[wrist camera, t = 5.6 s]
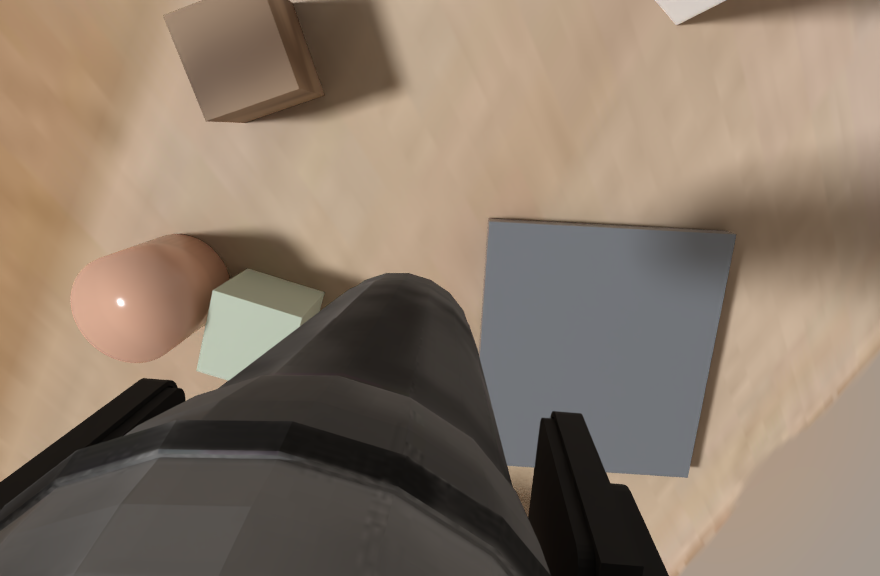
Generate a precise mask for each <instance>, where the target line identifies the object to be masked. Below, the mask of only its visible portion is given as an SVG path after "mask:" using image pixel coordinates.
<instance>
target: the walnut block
mask: <svg viewBox="0 0 880 576" xmlns="http://www.w3.org/2000/svg"><path fill="white" fill-rule="evenodd" d="M163 17H164V20H165V22H166V24H167V27H168V29H169V32H170V34H171V37H172V39H173V42H174V44H175V47H176V49H177V51H178V54H179V56H180V59H181V61H182V64H183V66H184V69H185V71H186V74H187V76H188V78H189V81H190V83H191V86H192V88H193V91H194V93H195V96H196V98H197V101H198V103H199V105H200V108H201V110H202V113H203V115H204V118H205V120H206V121H212V122H237V123H246V122H249V121H252V120H255V119H258V118H260V117H263V116H266V115H269V114H272V113H275V112H278V111H281V110H284V109H287V108H289V107H292V106H295V105H298V104H301V103H304V102H307V101H310V100H313V99H316V98H318V97H321V96H324V92H323V89H322V87H321V84H320V81H319V78H318V75H317V72H316V69H315V66H314V64H313V61H312V58H311V55H310V52H309V49H308V46H307V43H306V41H305V38H304V35H303V32H302V29H301V26H300V23H299V20H298V18H297V15H296V12H295V9H294V6H293V3H292V2H290V1H289V0H202V1H199V2H197V3H194V4H191V5H189V6H186V7H183V8H181V9H178V10H176V11H173V12H170V13H168V14H165V15H163Z"/></svg>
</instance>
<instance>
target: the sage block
mask: <svg viewBox="0 0 880 576" xmlns="http://www.w3.org/2000/svg"><path fill="white" fill-rule="evenodd" d="M324 293H325V292H322V291H319V290H316V289H313V288H309V287H306V286H303V285H300V284H297V283H293V282H290V281H287V280H284V279H281V278H277V277H274V276H271V275H268V274H265V273H261V272H258V271H255V270H252V269H249V268H248V269H246V270H245V271H243V272H241V273H240V274H238V275H236V276H235V277H233V278H232V279H230V280H228V281H227V282H225V283H223V284H222V285H220V286H219V287H217V288H215V289H214V290H213V291H212V296H211V301H210V306H209V311H208V316H207V321H206V326H205V331H204V336H203V341H202V346H201V351H200V356H199V361H198V366H197V371H199V372H202V373H205V374H208V375H212V376H215V377H218V378H222V379H225V380H228V381H229V380H230V379H231V378H233V377H234V376H235V375H237V374H238V373H239V372H241V371H242V370H243V369H245V368H246V367H247V366H248V365H250V364H251V363H252V362H254V361H255V360H256V359H258V358H259V357H260V356H262V355H263V354H264V353H266V352H267V351H268V350H270V349H271V348H272V347H273V346H275V345H276V344H277V343H279V342H280V341H281V340H283V339H284V338H285V337H287V336H288V335H289V334H291V333H292V332H293V331H295V330H296V329H297V328H298V327H300V326H301V325H302V324H304V323H305V322H306V321H308V320H309V319H310V318H312V317H313V316H314V315H316V314H317V313H318V312H320V308H321V305H322V301H323V297H324Z"/></svg>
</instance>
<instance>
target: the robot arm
mask: <svg viewBox="0 0 880 576" xmlns="http://www.w3.org/2000/svg"><path fill="white" fill-rule="evenodd" d="M183 402H185V393H184V391H183V390H182V389H181V388H177V385H176V383H175V382H174V381H172V380H159V379H146V378H143V379H141V380H139V381H138V382H136V383H135V384H134V385H132V386H131V387H129V388H128V389H127V390H125V391H124V392H123V393H121V394H120V395H119V396H117V397H116V398H115V399H113V400H112V401H110V402H109V403H108V404H106V405H105V406H104V407H102V408H101V409H100V410H98V411H97V412H95V413H94V414H93V415H91V416H90V417H89V418H87V419H86V420H85V421H83V422H82V423H80V424H79V425H78V426H76V427H75V428H74V429H72V430H71V431H70V432H68V433H67V434H65V435H64V436H63V437H61V438H60V439H59V440H57V441H56V442H55V443H53V444H52V445H50V446H49V447H48V448H46V449H45V450H44V451H42V452H41V453H40V454H38V455H37V456H35V457H34V458H33V459H31V460H30V461H29V462H27V463H26V464H25V465H23V466H22V467H21V468H19V469H18V470H16V471H15V472H14V473H12V474H11V475H10V476H8V477H7V478H6V479H4V480H3V481H1V482H0V511H1V510H2V508H3V507H4V506H5V505H6V504H8V503H9V502H10V501H11V500H13V499H14V498H15V497H17V496H18V495H19V494H21V493H22V492H23V491H24V490H26V489H27V488H28V487H30V486H31V485H32V484H34V483H35V482H36V481H37V480H39V479H40V478H41V477H43V476H44V475H45V474H47V473H48V472H49V471H50V470H52V469H53V468H54V467H56V466H57V465H58V464H60V463H61V462H62V461H63V460H65V459H66V458H67V457H69V456H70V455H71V454H73V453H74V452H75V451H76V450H79V449H83V448H86V447H89V446H93V445H96V444H99V443H102V442H106V441H109V440H112V439H116V438H119V437H122V436H124V435H126V434H127V433H128V432H130V431H131V430H132V429H134V428H135V427H136V426H138V425H140V424H142V423H144V422H146V421H147V420H149V419H151V418H153V417H155V416H157V415H159V414H161V413H163V412H165V411H167V410H169V409H171V408H173V407H175V406H177V405H179V404H181V403H183ZM528 519H529V521H530V524H531V526H532V528H533V530H534V533H535V535H536V537H537V539H538V542H539V544H540V546H541V549H542V552H543V555H544V557H545V560H546V563H547V566H548V569H549V572H550V575H551V576H669V575H668V573H667V571H666V568H665V566H664V564H663V562H662V560H661V557H660V555H659V553H658V551H657V549H656V546H655V544H654V542H653V540H652V538H651V535H650V533H649V531H648V529H647V527H646V524H645V522H644V520H643V518H642V516H641V513H640V511H639V509H638V507H637V505H636V502H635V500H634V498H633V496H632V494H631V491H630V490H629V488H628V487H627V486H626V485H623V484H612V483H610V481H609V479H608V476H607V474H606V472H605V469H604V467H603V464H602V462H601V459H600V457H599V454H598V452H597V449H596V447H595V445H594V442H593V440H592V437H591V435H590V432H589V430H588V427H587V425H586V422H585V420H584V417H583V415H582V414H581V413H570V412H558V411H553V412H552V413H551V417H550V418H541V421H540V427H539V435H538V443H537V451H536V460H535V468H534V476H533V484H532V492H531V500H530V508H529V516H528Z"/></svg>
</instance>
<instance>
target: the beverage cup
mask: <svg viewBox="0 0 880 576" xmlns="http://www.w3.org/2000/svg"><path fill="white" fill-rule="evenodd" d="M0 576H551V575H550V572H549V569H548V566H547V563H546V560H545V557H544V555H543V552H542V549H541V546H540V544H539V542H538V539H537V537H536V535H535V533H534V530H533V528H532V526H531V524H530V521H529V519H528V517H527V515H526V513H525V510H524V508H523V506H522V504H521V501H520V499H519V497H518V495H517V492H516V491H515V490H514V489H513V487H512V483H511V479H510V475H509V471H508V467H507V463H506V459H505V455H504V451H503V447H502V444H501V440H500V436H499V432H498V428H497V424H496V420H495V416H494V412H493V408H492V404H491V400H490V396H489V393H488V389H487V385H486V381H485V377H484V373H483V369H482V365H481V361H480V357H479V353H478V349H477V346H476V344H475V341H474V338H473V335H472V332H471V329H470V326H469V324H468V322H467V320H466V317H465V314H464V311H463V310H462V308H461V307H460V306H459V304H458V303H457V302H456V300H455V299H454V298H453V297H452V295H451V294H450V293H449V292H448V291H446V290H445V289H443V288H442V287H440V286H439V285H437V284H436V283H434V282H433V281H432V280H429V279H426V278H423V277H419V276H416V275H413V274H410V273H385V274H382V275H379V276H376V277H373V278H370V279H367V280H364V281H363V282H362V283H360V284H359V285H358V286H356V287H353V288H350V289H349V290H347V291H346V292H345V293H343V294H342V295H341V296H339V297H338V298H337V299H335V300H334V301H333V302H331V303H330V304H329V305H327V306H326V307H325V308H323V309H322V310H321V311H320V312H318V313H317V314H316V315H314V316H313V317H312V318H310V319H309V320H308V321H306V322H305V323H304V324H302V325H301V326H300V327H298V328H297V329H296V330H295V331H293V332H292V333H291V334H289V335H288V336H287V337H285V338H284V339H283V340H281V341H280V342H279V343H277V344H276V345H275V346H273V347H272V348H271V349H270V350H268V351H267V352H266V353H264V354H263V355H262V356H260V357H259V358H258V359H256V360H255V361H254V362H252V363H251V364H250V365H248V366H247V367H246V368H245V369H243V370H242V371H241V372H239V373H238V374H237V375H235V376H234V377H233V378H231V379H230V380H229V381H227V382H226V383H225V384H223V385H222V386H221V387H220V388H218V389H216V390H213V391H210V392H207V393H203V394H200V395H197V396H194V397H193V398H191V399H189V400H187V401H185V402H183V403H181V404H179V405H177V406H175V407H173V408H171V409H169V410H167V411H165V412H163V413H161V414H159V415H157V416H155V417H153V418H151V419H149V420H147V421H146V422H144V423H142V424H140V425H138V426H136V427H135V428H134V429H132V430H131V431H130V432H128V433H127V434H126V435H124V436H122V437H119V438H116V439H112V440H109V441H106V442H102V443H99V444H96V445H93V446H89V447H86V448H83V449H79V450H76V451H75V452H74V453H73V454H71V455H70V456H69V457H67V458H66V459H65V460H63V461H62V462H61V463H60V464H58V465H57V466H56V467H54V468H53V469H52V470H50V471H49V472H48V473H47V474H45V475H44V476H43V477H41V478H40V479H39V480H37V481H36V482H35V483H34V484H32V485H31V486H30V487H28V488H27V489H26V490H24V491H23V492H22V493H21V494H19V495H18V496H17V497H15V498H14V499H13V500H11V501H10V502H9V503H8V504H6V505H5V506H4V507H3V508H2V510H1V511H0Z"/></svg>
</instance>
